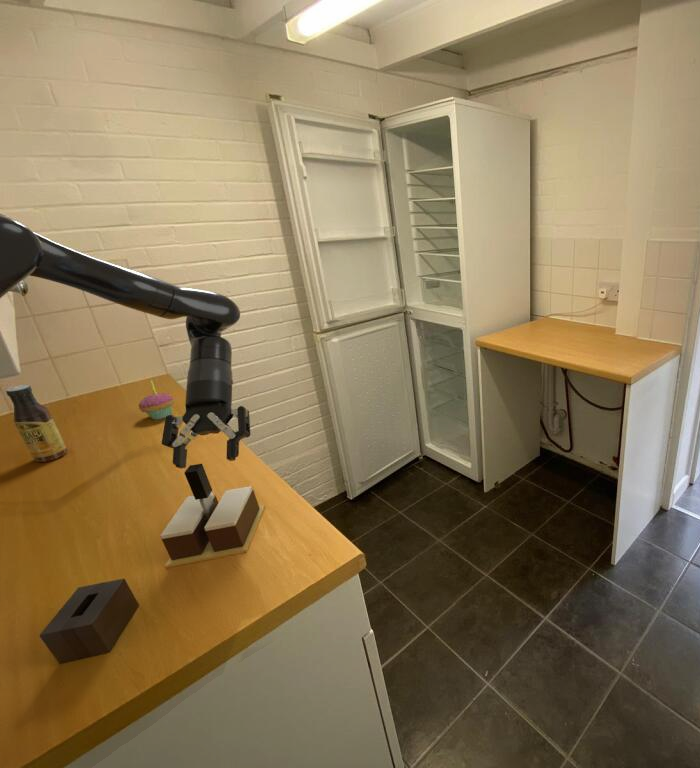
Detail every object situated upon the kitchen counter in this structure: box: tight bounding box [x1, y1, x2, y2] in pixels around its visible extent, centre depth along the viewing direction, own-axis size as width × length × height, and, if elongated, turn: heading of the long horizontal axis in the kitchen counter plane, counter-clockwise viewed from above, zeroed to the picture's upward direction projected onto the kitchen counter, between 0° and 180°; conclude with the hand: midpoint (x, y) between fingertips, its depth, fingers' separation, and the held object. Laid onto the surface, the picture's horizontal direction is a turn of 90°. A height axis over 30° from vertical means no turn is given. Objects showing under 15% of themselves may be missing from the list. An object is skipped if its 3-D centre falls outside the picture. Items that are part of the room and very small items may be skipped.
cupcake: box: [138, 377, 175, 420], centre depth 127 cm, size 9×8×12 cm
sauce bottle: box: [5, 384, 68, 463], centre depth 105 cm, size 6×6×20 cm
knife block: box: [38, 578, 140, 665], centre depth 62 cm, size 8×6×6 cm
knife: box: [183, 463, 216, 521], centre depth 78 cm, size 3×2×15 cm, turn 15°
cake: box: [160, 485, 266, 569], centre depth 80 cm, size 13×13×6 cm
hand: (206, 463), depth 79 cm, fingers open, 8 cm apart
